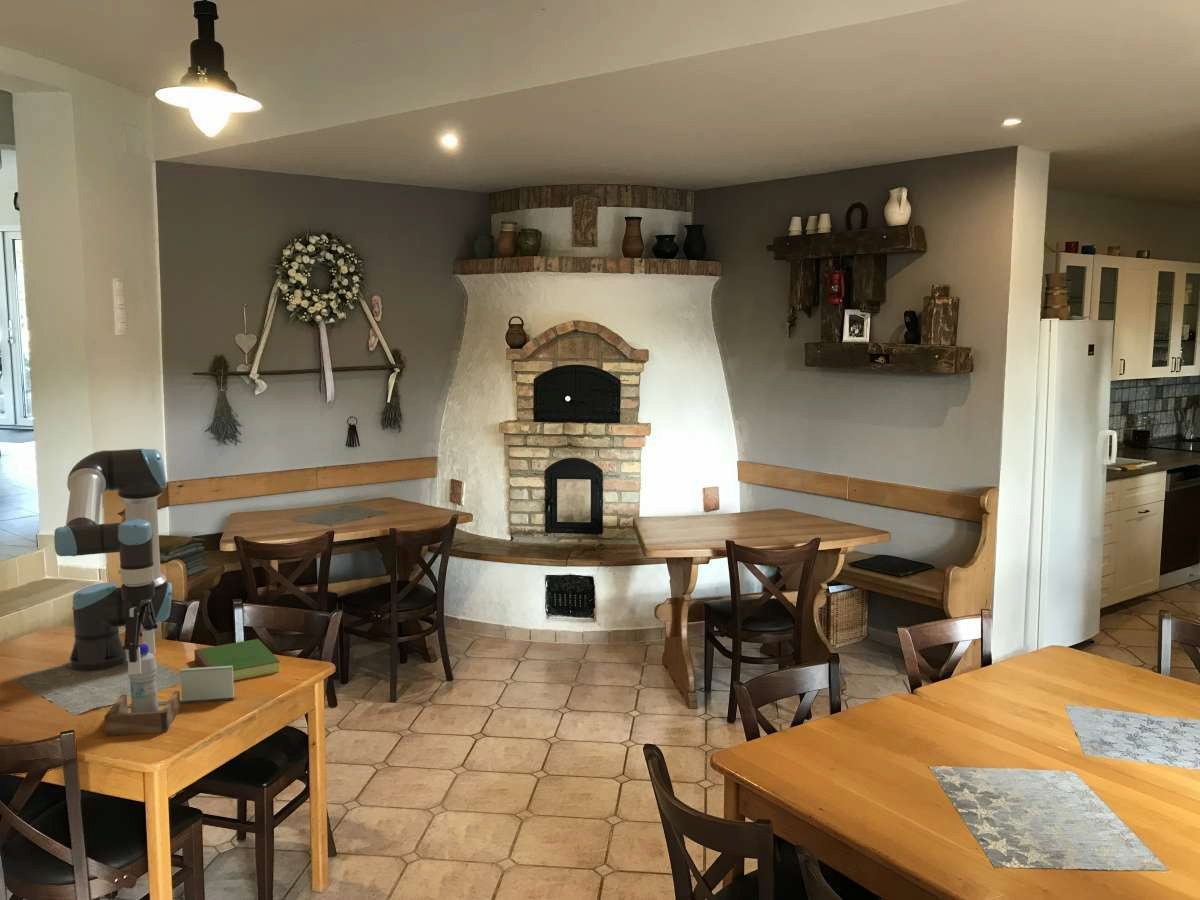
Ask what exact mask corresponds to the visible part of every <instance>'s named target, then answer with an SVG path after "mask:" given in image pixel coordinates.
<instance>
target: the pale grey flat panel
mask: <svg viewBox="0 0 1200 900" xmlns="http://www.w3.org/2000/svg"><path fill="white" fill-rule="evenodd" d="M179 673H180V674H179V675H180V691H181V692H180V693H181V700H182V701H193V700H208V699H222V698H233V697H235V691H234V688H235V687H234V681H233V666H219V667H202V668H200V667H190V668H189V667H188V668H181V669H179Z"/></svg>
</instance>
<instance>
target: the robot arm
mask: <svg viewBox="0 0 1200 900" xmlns="http://www.w3.org/2000/svg"><path fill="white" fill-rule="evenodd" d="M164 466H165V465H164V461H163V456H162V453H161V452H160V451H159V450H158V449H156V448H147V449H146V448H133V449H116V450H115V449H112V450H98V451H96V452H93V453H90V454H88V455H87V456H84V457H83V458H82V459H80V460H79V461H78V462H77V463H76V464H75V465H74V466H73V467H72V469H71V470H70V472H69V473H68V476H67V482H66V485H67V490H68V491H69V496H68V497H69V499H68V506H67V512H66V513H67V515H66V521H65V525H63V526H59V527H57V528H55V529H54V534H53V535H54V537H53V539H54V540H53V544H54V552H55V554H56V555H57V556H59V557H77V556H87V555H97V554H100V555H101V554H112V553H118V554H119V565H120V566H119V567H120V570H118V571H117V572H118V574H119V575H120V582H121V584H122V585H121V586H120V587H117V584H116V583H115V582H106V581H105V582H100V583H96V584H91V585H87V586H85V587H82V588H80V589H77V591H75V592H74V594H73V595H72V606H71V608H72V612H73V614H72V615H73V628H74V630H73V631H74V632H73V633H74V643H73V646H72V648H71V652H70V655H69V668H70V669H71V670H75V671H79V672H80V671H83V672H87V671H89V672H91V671H101V670H106V669H109V668H113V667H117V666H119V665H122V664H123V663H125V662H126V661H127V673H128V672H129V673H128V675H129V674H141V659H140V647H139V646H138V645H139V644H140V638H141V634H142V644H146V645H148V649H149V652H148V653H151V654H154V655H156V641H155V639H156V638H155V637H156V636H155V629H158V626H159V625H158V624H157V623H159V622H164V621H165V622H166V621H167V620H168V619H169V617H170V614H171V607H172V595H173V593H172V592H173V583H172V582H168V581H167V580H168V579H167V577H166V575H165V574H163V573H161V572H162V571H161V556H160V555H161V553H160V538H159V518H158V516H159V515H158V498H159V497H160V496H161V495H162V494H163V489H166V488H167V486H168V484H167V477H166V471H165V467H164ZM105 491H117V495H118V497H119V498H120V499H121V500H123V502H124V511H125V512H124V515H125V520H124V522H112V523H110V522H109V523H100V515H101V501H102V500H101V499H102V495H103V492H105ZM119 627H125V630H124V641H123V640H122V638H121V637H120V633H119V632H120V631H119ZM142 628H143V629H142ZM141 631H142V633H141Z"/></svg>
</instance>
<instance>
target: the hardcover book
mask: <svg viewBox="0 0 1200 900" xmlns="http://www.w3.org/2000/svg"><path fill="white" fill-rule="evenodd" d="M193 651H194V661H195V662H196V664H197V666H199V667H198V668H202V667H219V666H233V682H234V681H240V680H245V679H250V678H255V677H260V676H264V675H265V676H266V675H270V674H271V675H272V674H276V673H280V663H281V661H280V660H279V659H278V658H277V657H276V655H275V654H273V652H272V651H270V650H269V647H266V645H265V644H264V643H263V642H262V640H260V639H259V638H256V639H251V640H250V639H249V640H244V641H237V642H231V643H227V644H221V645H216V646H209V647H204V648H198V649H194V650H193Z"/></svg>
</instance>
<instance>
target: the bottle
mask: <svg viewBox="0 0 1200 900" xmlns="http://www.w3.org/2000/svg"><path fill="white" fill-rule="evenodd" d="M138 646H139V647H140V659H141V674H129V672H128V671H127V674H128V675H127V677H128V678H129V685H130V687H129V688H130V699H131V703H130V704H131V707H130V713H139V712H153V711H160V710H159V705H158V702H159V701H158V691H157V690H158V689H157V676H156V675H157V673H158V670H157V668H158V665H157V660H156V656H155V654H151V653H148V652H149V649H148V645H146V644H143V643H139V645H138Z"/></svg>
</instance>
